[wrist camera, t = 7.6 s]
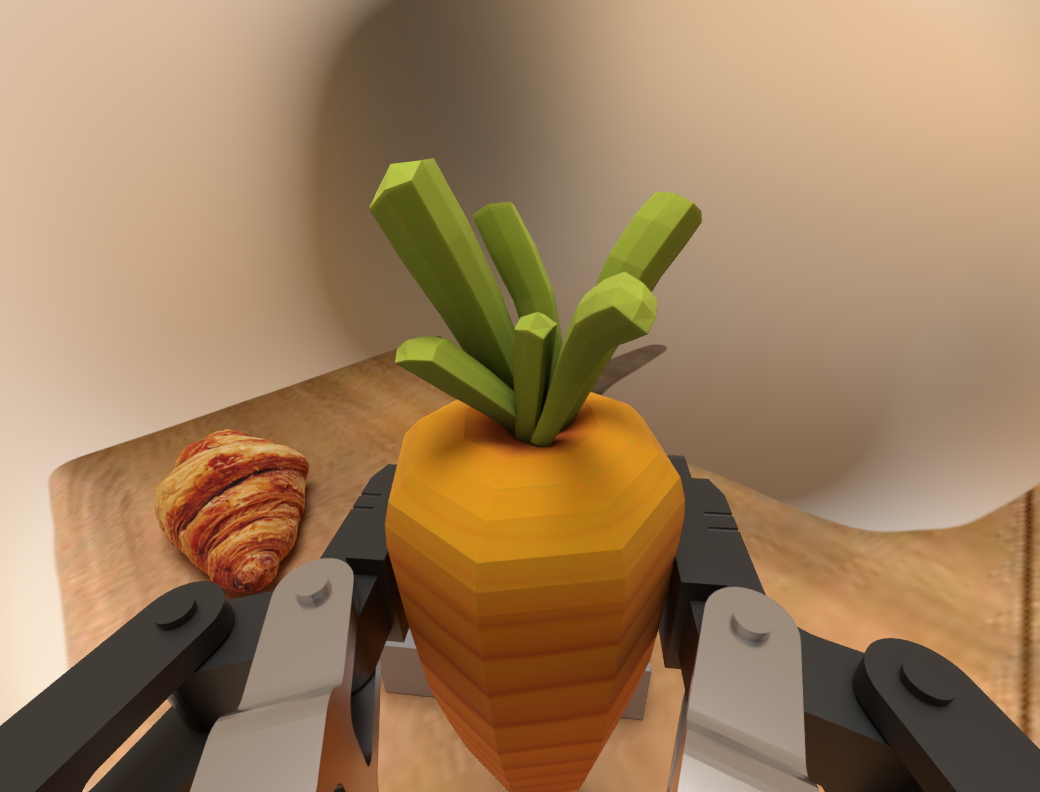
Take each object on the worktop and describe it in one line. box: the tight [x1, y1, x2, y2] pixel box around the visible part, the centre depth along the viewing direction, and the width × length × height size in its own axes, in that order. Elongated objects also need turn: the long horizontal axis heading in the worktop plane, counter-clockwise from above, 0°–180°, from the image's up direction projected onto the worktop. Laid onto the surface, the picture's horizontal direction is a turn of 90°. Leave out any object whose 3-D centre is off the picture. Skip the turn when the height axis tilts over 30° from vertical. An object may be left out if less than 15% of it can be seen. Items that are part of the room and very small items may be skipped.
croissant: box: [155, 429, 309, 594], centre depth 35 cm, size 21×10×8 cm, turn 36°
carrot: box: [369, 159, 702, 792], centre depth 9 cm, size 5×5×15 cm
